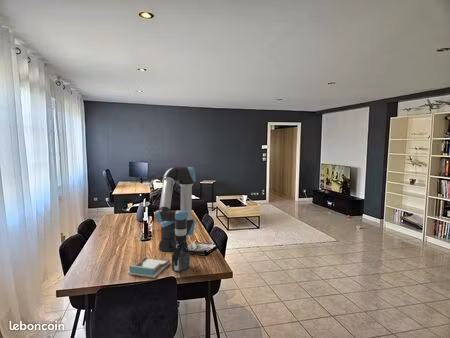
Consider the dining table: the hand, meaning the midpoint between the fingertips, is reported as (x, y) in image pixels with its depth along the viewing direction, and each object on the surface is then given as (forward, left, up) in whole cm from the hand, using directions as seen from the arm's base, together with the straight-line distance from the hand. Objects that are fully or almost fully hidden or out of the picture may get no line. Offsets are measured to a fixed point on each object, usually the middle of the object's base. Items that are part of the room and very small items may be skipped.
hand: (180, 265), depth 185 cm
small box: (0, 0, -2) cm, 2 cm away
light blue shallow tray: (+5, -20, -2) cm, 21 cm away
